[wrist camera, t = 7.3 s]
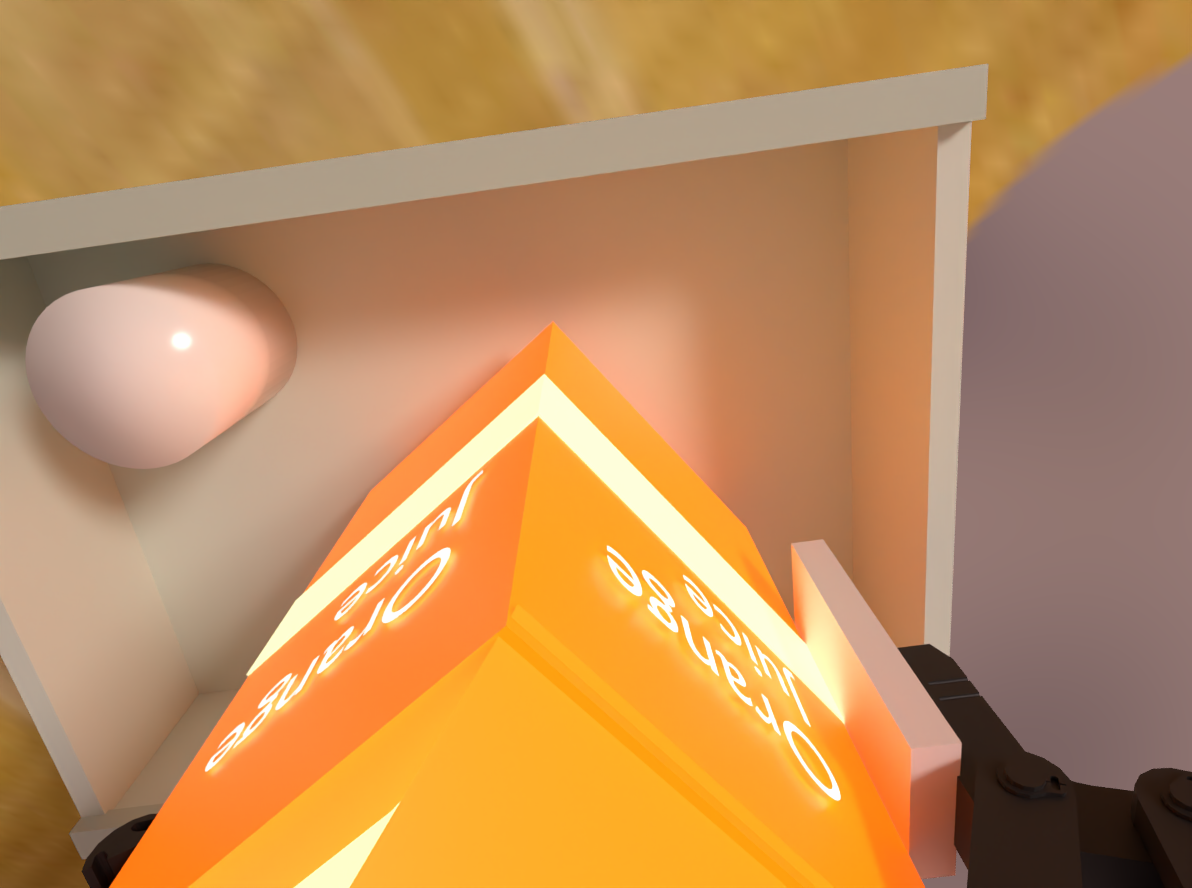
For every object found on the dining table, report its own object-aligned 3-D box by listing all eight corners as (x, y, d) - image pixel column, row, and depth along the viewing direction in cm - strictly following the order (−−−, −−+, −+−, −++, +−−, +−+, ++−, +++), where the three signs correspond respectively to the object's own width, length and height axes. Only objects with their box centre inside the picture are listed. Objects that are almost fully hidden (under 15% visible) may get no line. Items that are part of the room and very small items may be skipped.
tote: (195, 704, 27) (82, 859, 21) (3, 223, 21) (-235, 240, 15) (867, 619, 26) (955, 753, 20) (864, 99, 20) (988, 63, 14)
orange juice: (555, 316, 20) (218, 2633, 1) (751, 526, 22) (1708, 2389, 3) (364, 493, 22) (-1084, 2638, 3) (566, 671, 24) (536, 2470, 5)
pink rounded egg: (175, 417, 22) (69, 480, 18) (125, 275, 21) (-7, 302, 16) (314, 398, 22) (243, 456, 18) (273, 253, 21) (183, 274, 16)
